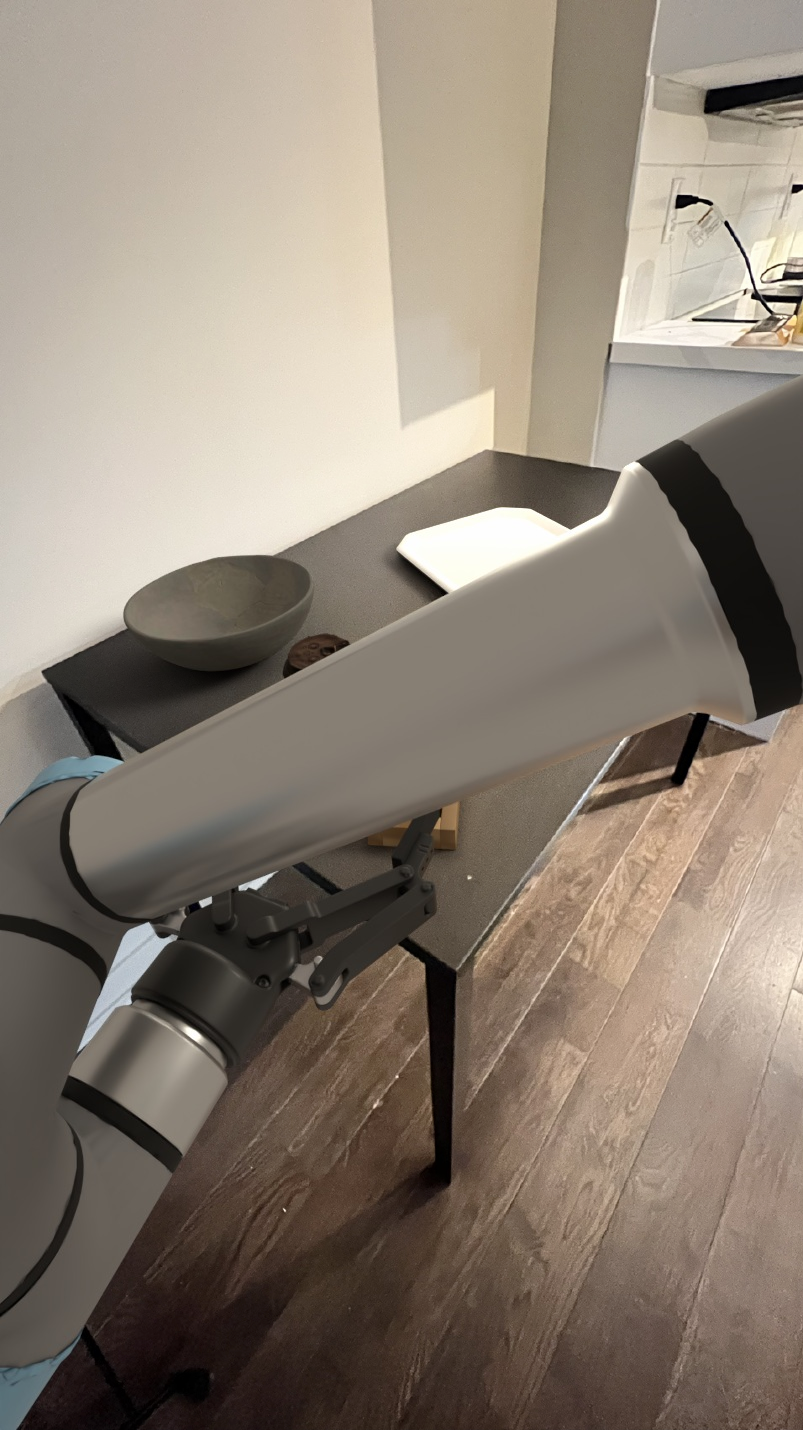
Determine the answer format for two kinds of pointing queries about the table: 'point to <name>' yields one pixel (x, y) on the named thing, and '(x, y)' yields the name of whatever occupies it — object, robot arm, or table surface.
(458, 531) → the plate
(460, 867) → the table surface
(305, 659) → the coffee cup
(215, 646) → the bowl
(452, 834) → the holder
